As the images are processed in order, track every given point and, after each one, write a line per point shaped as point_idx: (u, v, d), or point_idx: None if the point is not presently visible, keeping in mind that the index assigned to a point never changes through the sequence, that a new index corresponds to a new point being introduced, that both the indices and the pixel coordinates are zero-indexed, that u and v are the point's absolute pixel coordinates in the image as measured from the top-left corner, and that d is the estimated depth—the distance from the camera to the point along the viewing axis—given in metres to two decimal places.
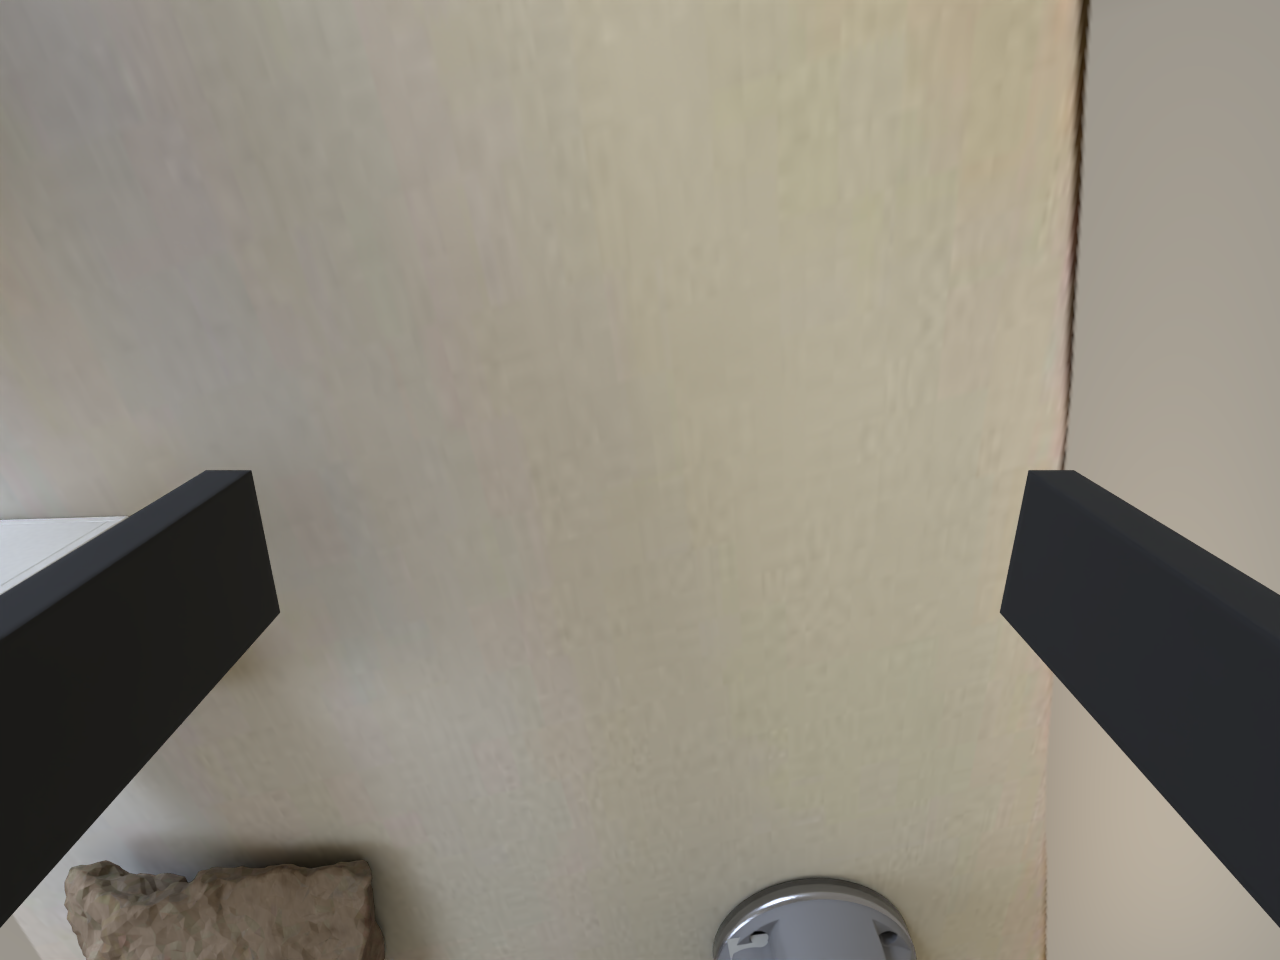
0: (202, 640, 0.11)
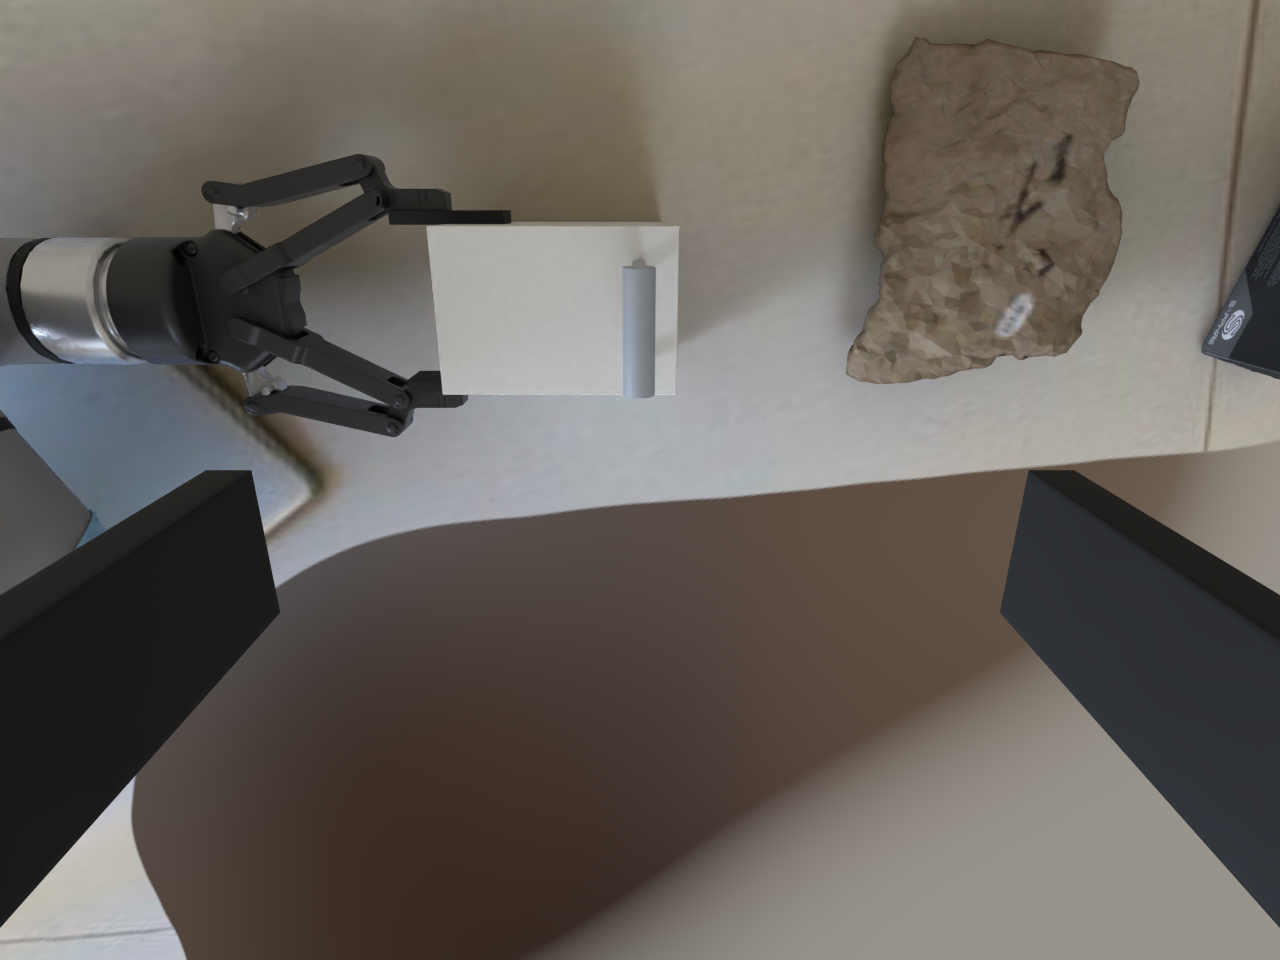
0: (202, 640, 0.11)
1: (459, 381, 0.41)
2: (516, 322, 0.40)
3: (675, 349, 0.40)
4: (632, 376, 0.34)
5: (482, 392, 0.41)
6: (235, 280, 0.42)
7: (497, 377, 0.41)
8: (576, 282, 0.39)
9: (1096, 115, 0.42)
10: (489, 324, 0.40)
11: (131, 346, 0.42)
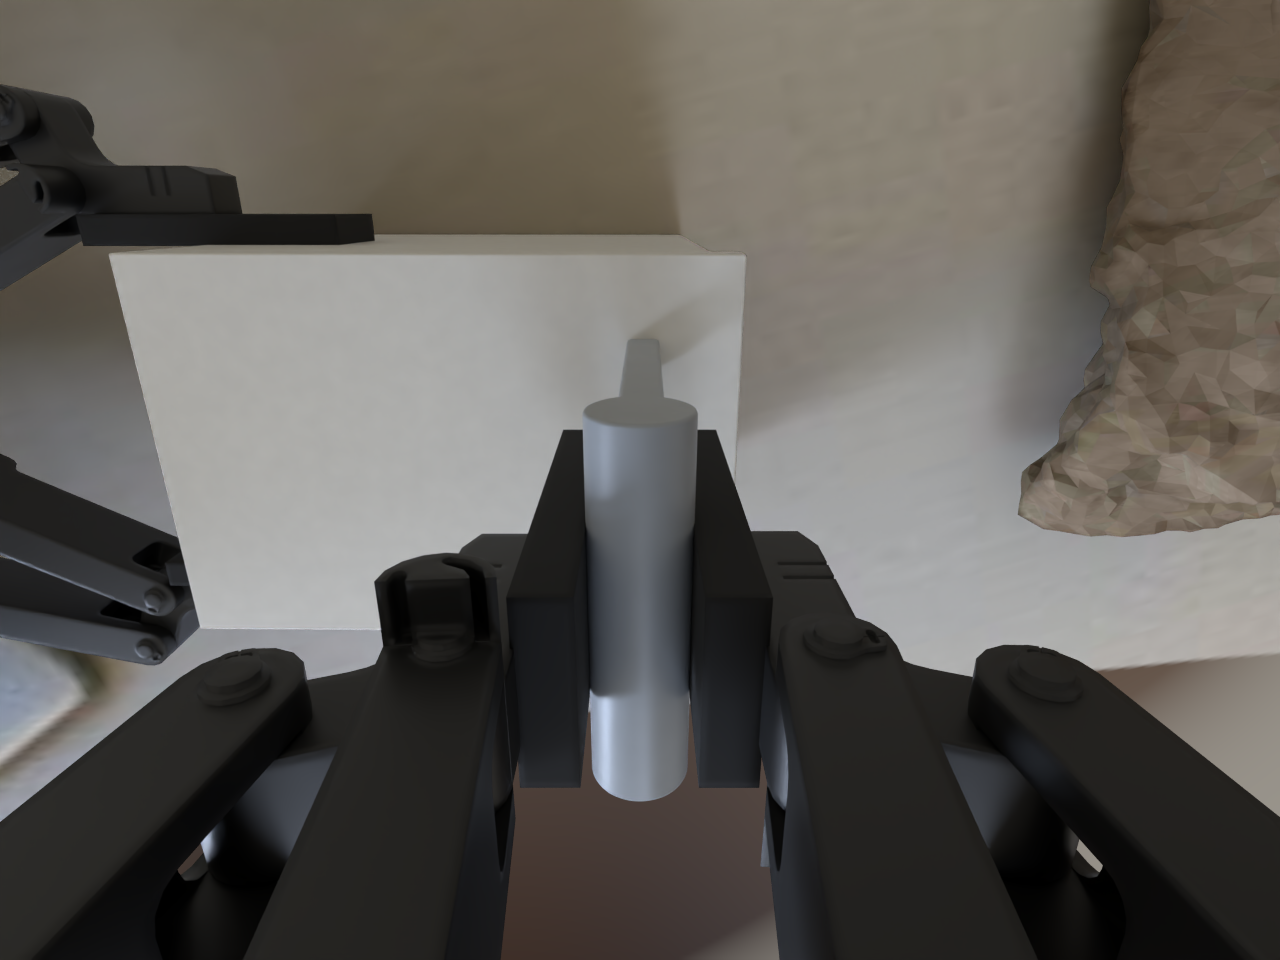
0: None
1: (235, 601, 0.18)
2: (353, 480, 0.17)
3: None
4: (618, 743, 0.11)
5: (288, 625, 0.18)
6: None
7: (319, 595, 0.18)
8: (490, 390, 0.16)
9: None
10: (290, 483, 0.17)
11: None
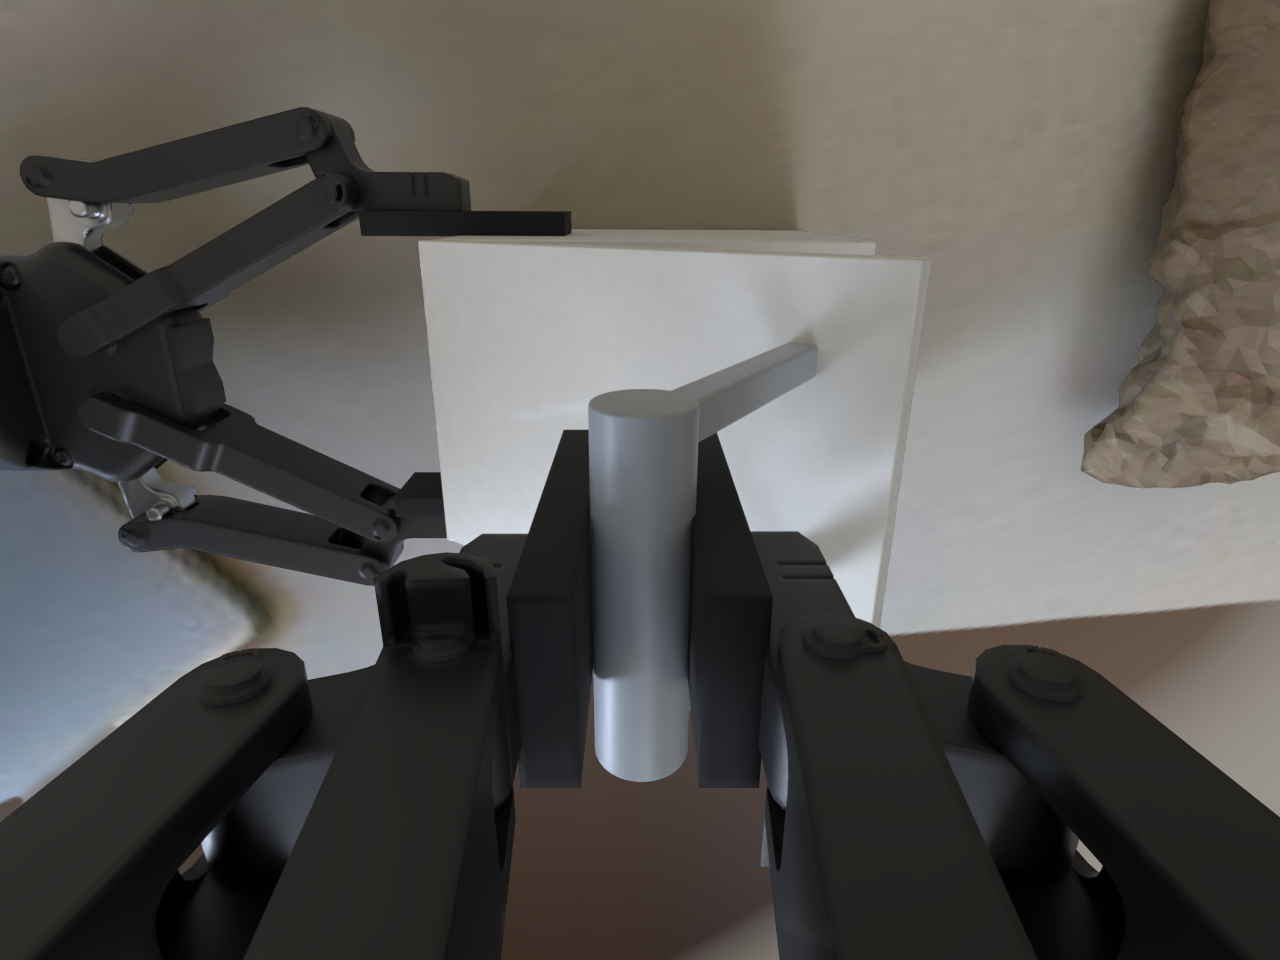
0: None
1: (468, 523, 0.22)
2: (553, 441, 0.19)
3: (874, 571, 0.16)
4: (601, 713, 0.11)
5: None
6: (86, 332, 0.24)
7: (522, 533, 0.21)
8: (662, 377, 0.17)
9: None
10: (510, 435, 0.20)
11: None
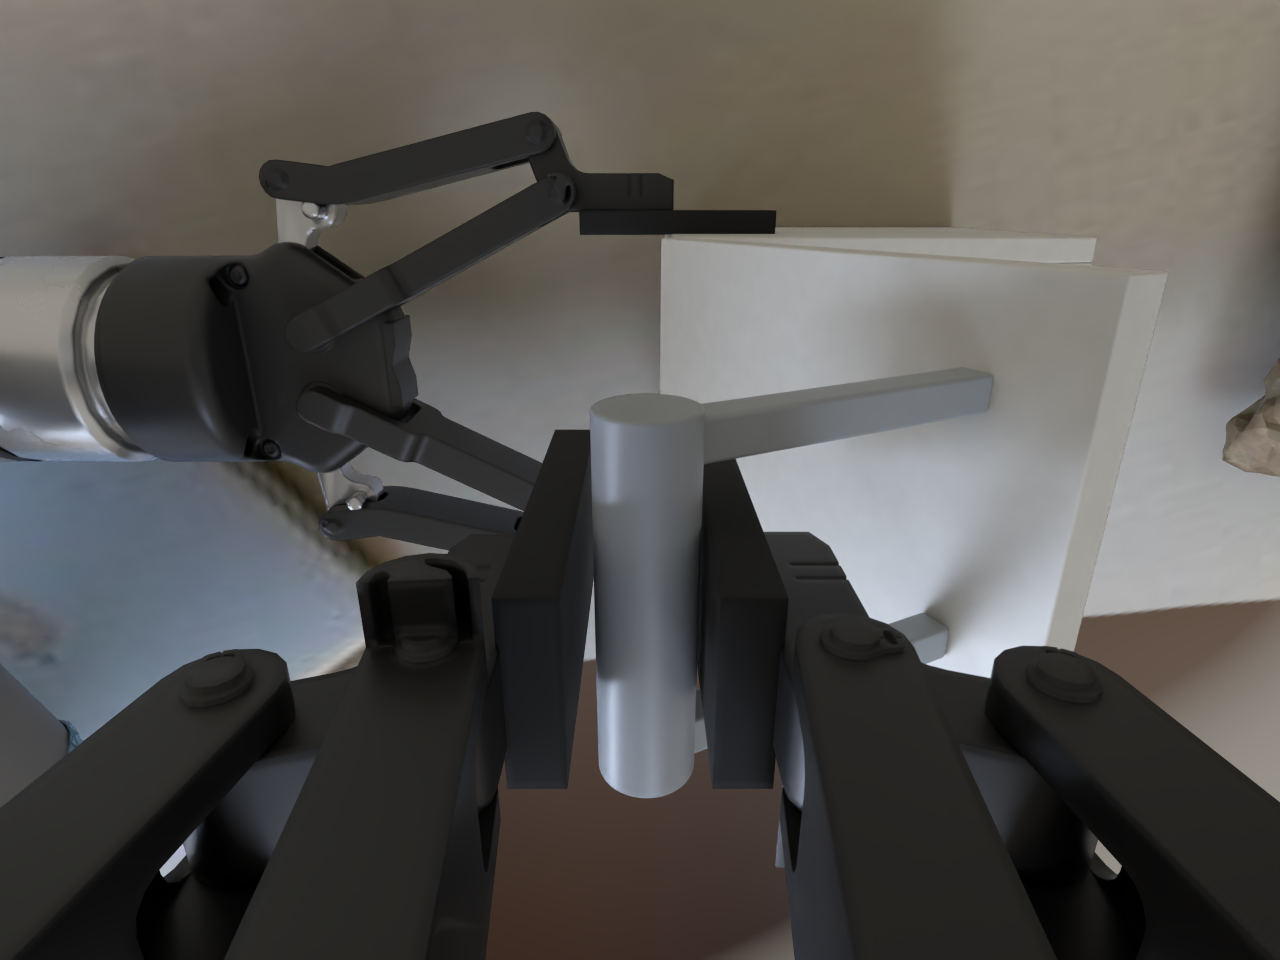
0: (589, 566, 0.13)
1: None
2: None
3: None
4: None
5: None
6: (313, 329, 0.25)
7: None
8: None
9: None
10: None
11: (137, 440, 0.25)
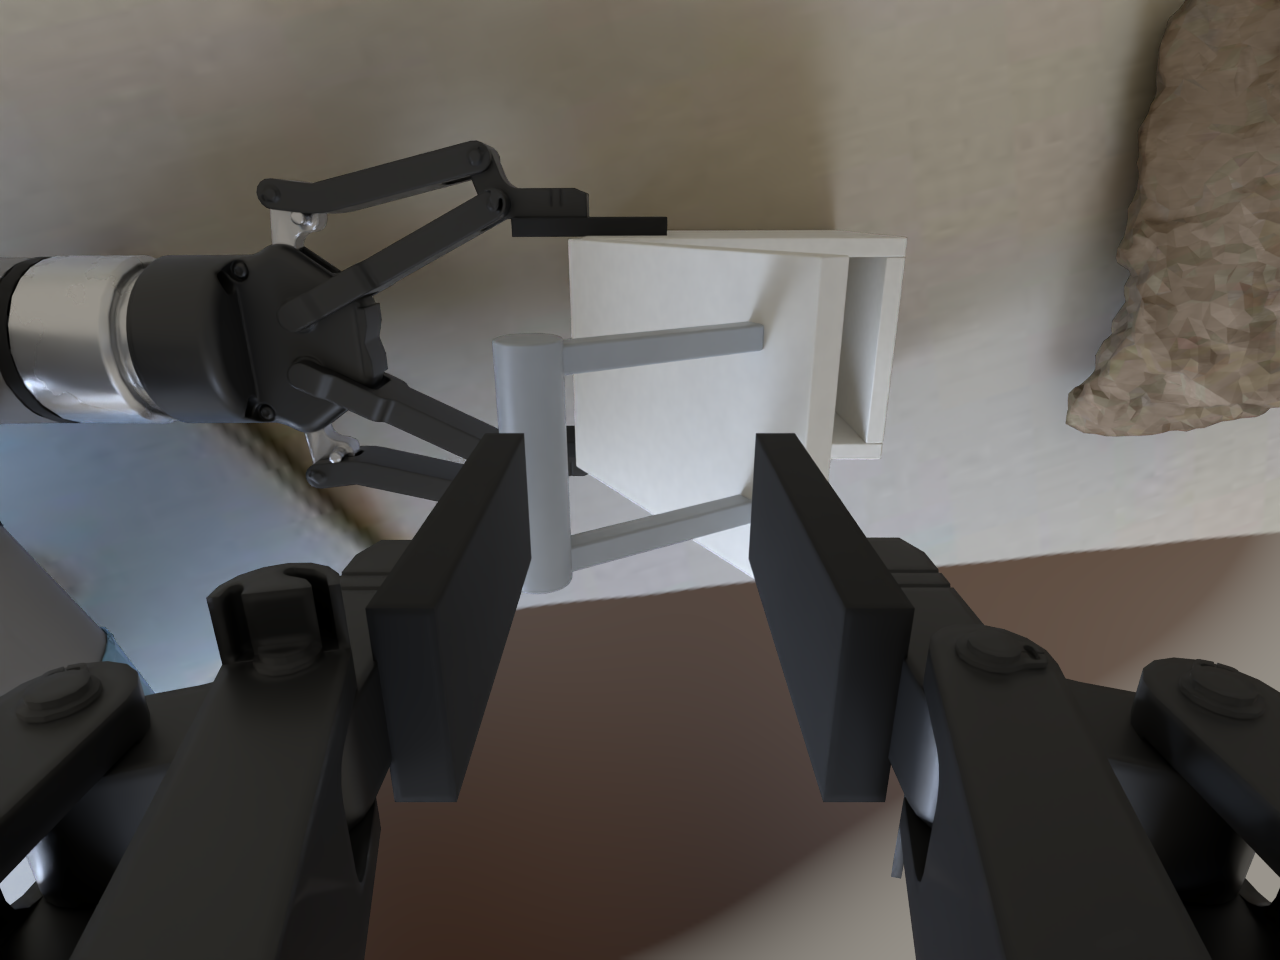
0: (512, 572, 0.13)
1: (586, 455, 0.29)
2: (628, 393, 0.25)
3: None
4: None
5: (601, 479, 0.28)
6: (300, 312, 0.31)
7: (612, 465, 0.27)
8: None
9: None
10: (607, 387, 0.27)
11: (159, 403, 0.31)
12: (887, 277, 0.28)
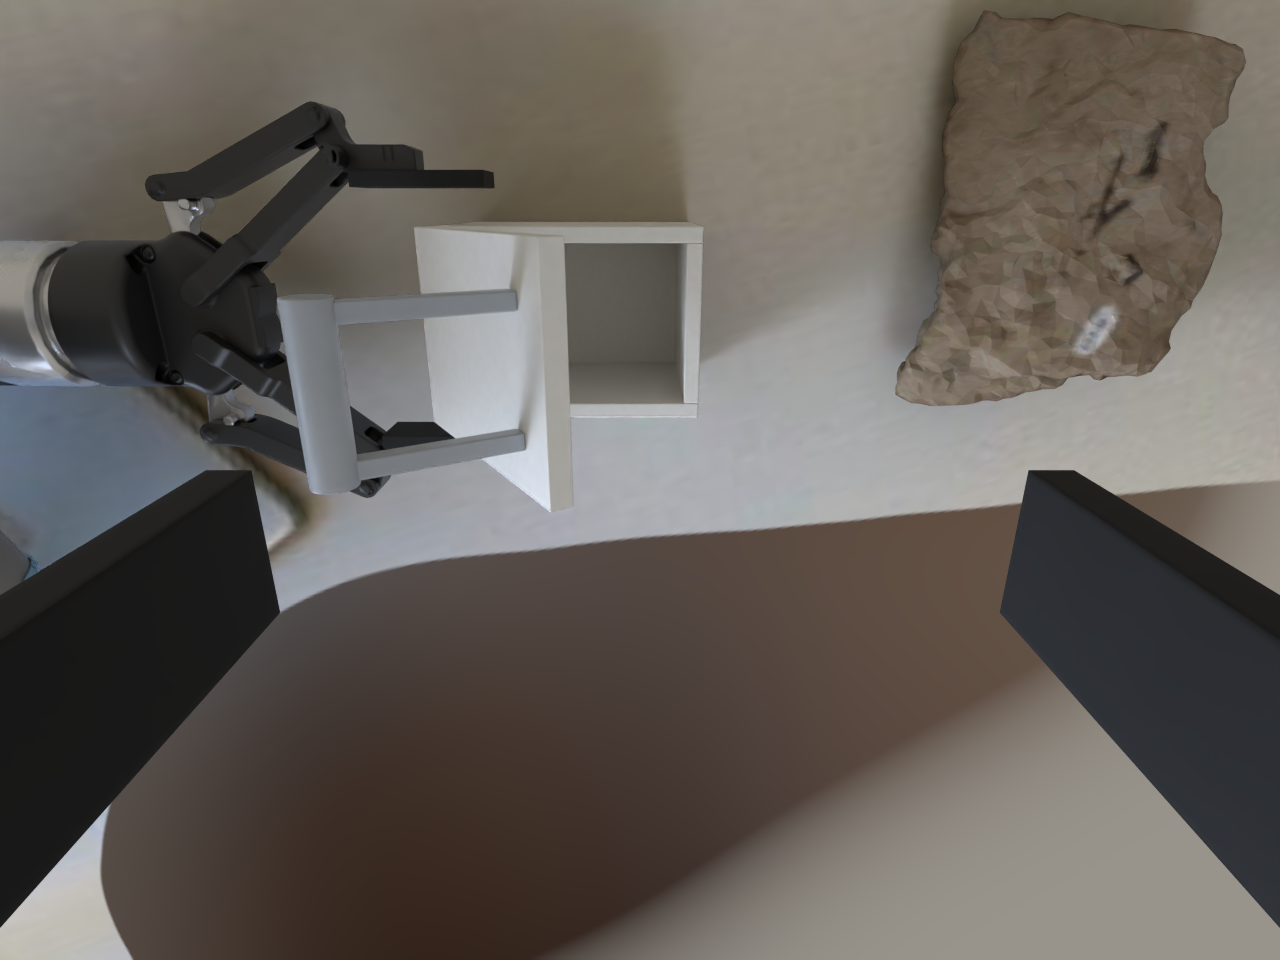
0: (202, 640, 0.11)
1: (438, 411, 0.34)
2: (456, 354, 0.31)
3: (545, 440, 0.24)
4: None
5: (448, 430, 0.34)
6: (197, 288, 0.36)
7: (453, 417, 0.33)
8: None
9: (1196, 99, 0.36)
10: (445, 351, 0.32)
11: (79, 367, 0.36)
12: (689, 260, 0.34)
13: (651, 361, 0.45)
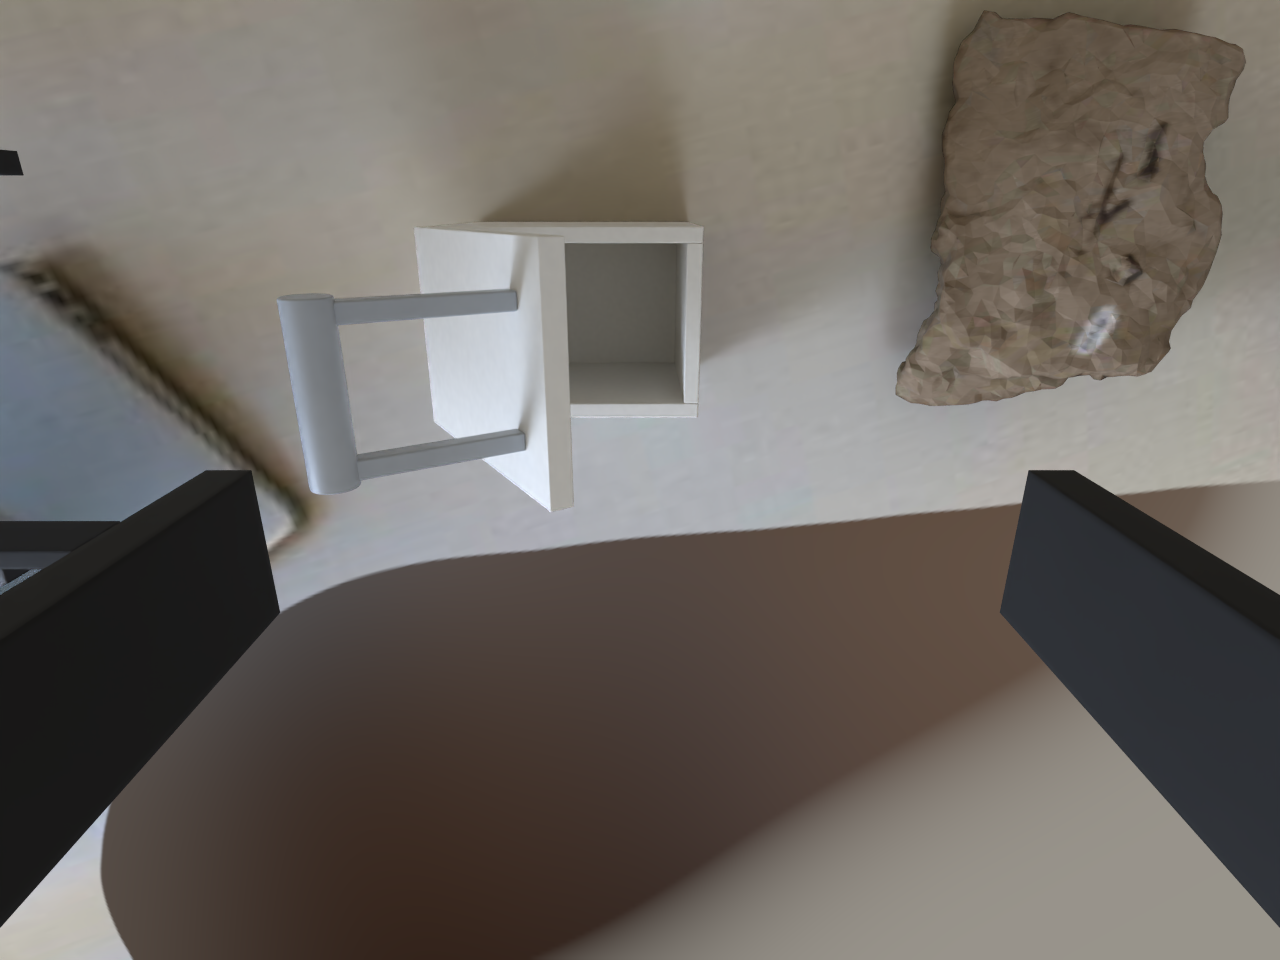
0: (202, 640, 0.11)
1: (438, 411, 0.34)
2: (456, 355, 0.31)
3: (545, 440, 0.24)
4: None
5: (448, 430, 0.34)
6: None
7: (453, 417, 0.33)
8: None
9: (1196, 99, 0.36)
10: (445, 351, 0.32)
11: None
12: (689, 260, 0.34)
13: (651, 361, 0.45)
